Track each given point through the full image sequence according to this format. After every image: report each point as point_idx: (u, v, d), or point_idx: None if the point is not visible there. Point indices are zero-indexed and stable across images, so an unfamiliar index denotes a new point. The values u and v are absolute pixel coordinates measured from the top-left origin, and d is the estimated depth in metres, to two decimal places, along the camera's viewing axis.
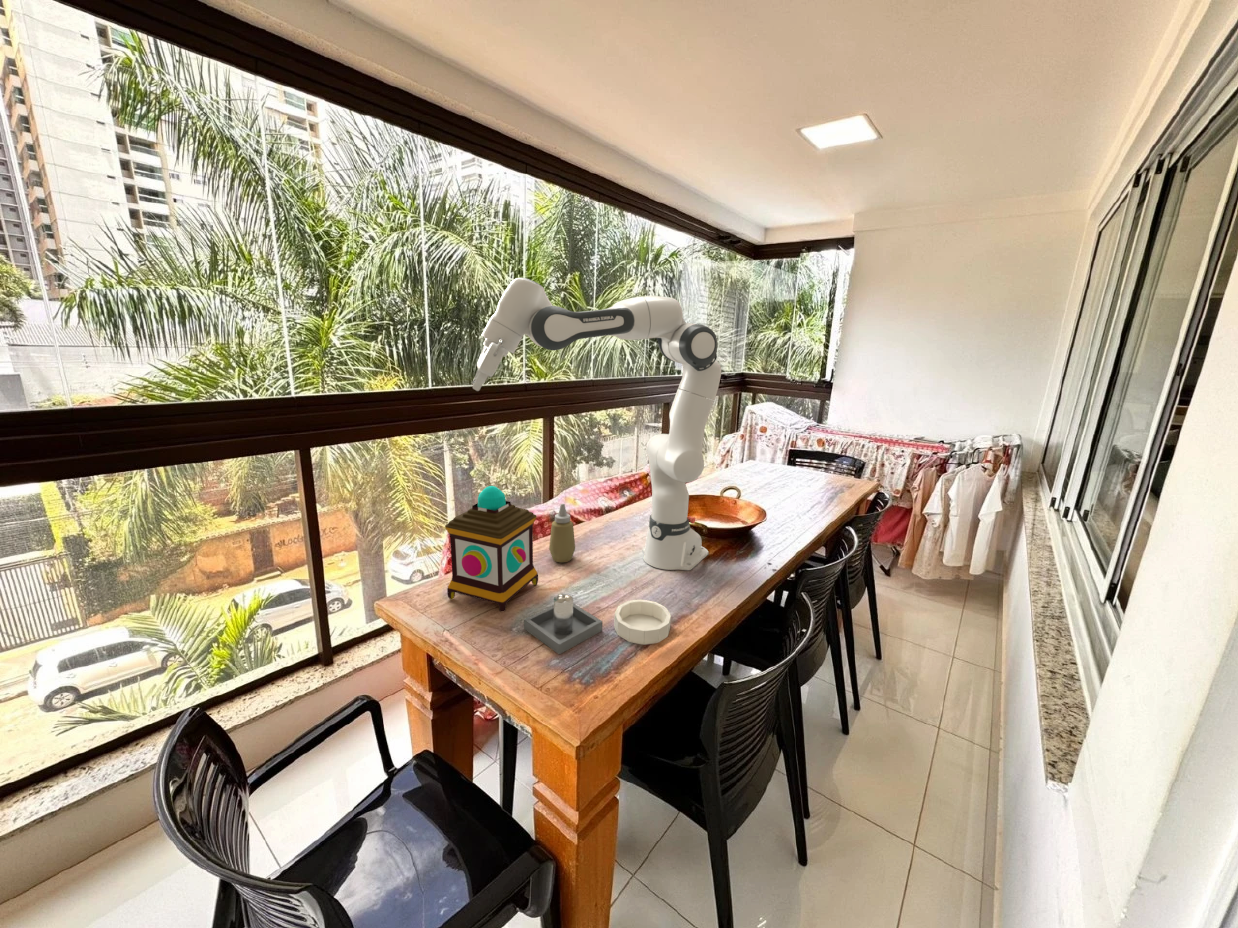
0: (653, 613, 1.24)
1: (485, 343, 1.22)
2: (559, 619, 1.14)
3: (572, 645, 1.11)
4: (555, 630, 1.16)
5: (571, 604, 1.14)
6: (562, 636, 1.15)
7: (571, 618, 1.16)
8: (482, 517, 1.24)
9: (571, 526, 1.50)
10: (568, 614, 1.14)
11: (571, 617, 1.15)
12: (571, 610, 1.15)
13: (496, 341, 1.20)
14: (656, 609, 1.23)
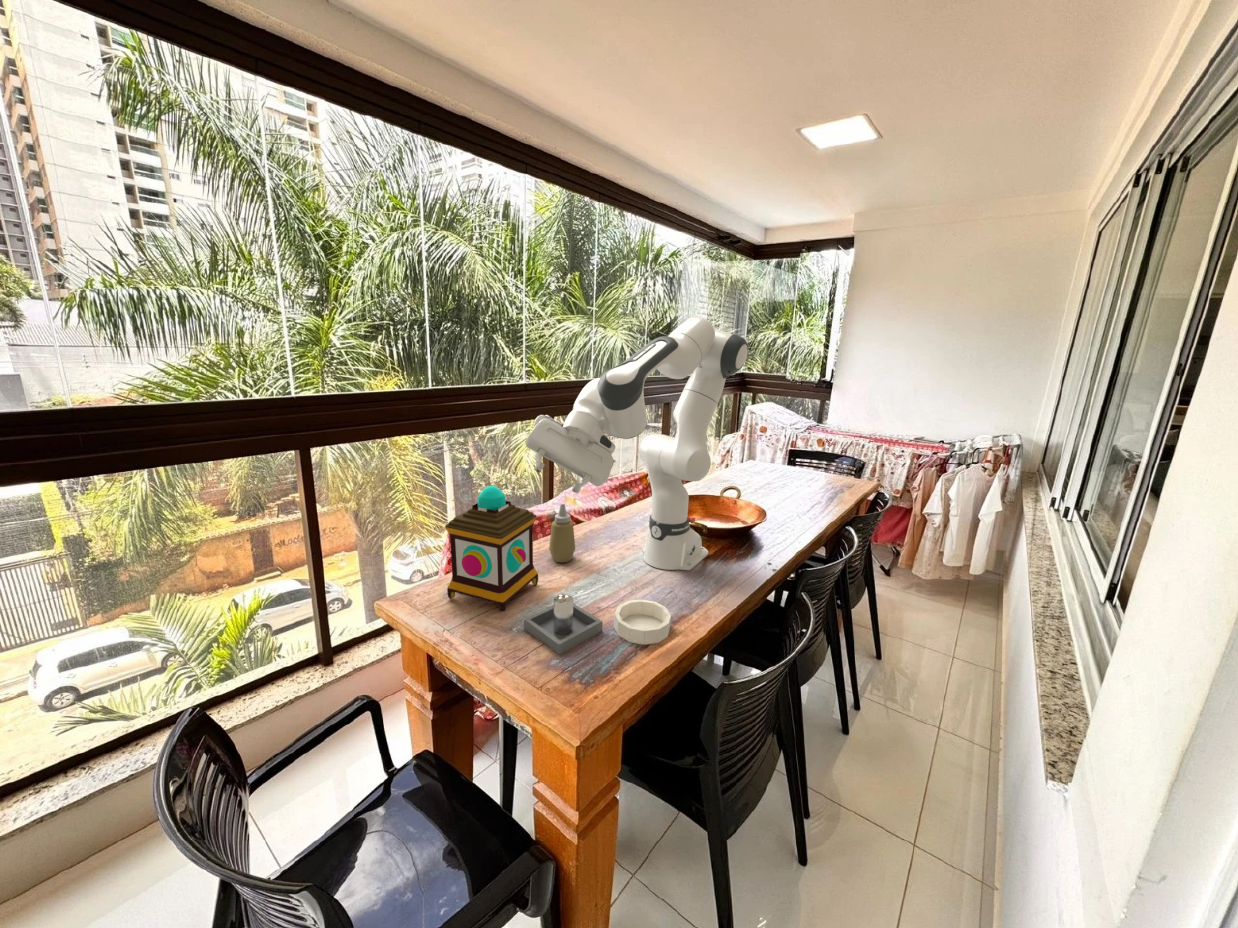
0: (653, 613, 1.24)
1: None
2: (559, 619, 1.14)
3: (572, 645, 1.11)
4: (555, 630, 1.16)
5: (571, 604, 1.14)
6: (562, 636, 1.15)
7: (571, 618, 1.16)
8: (482, 517, 1.24)
9: (571, 526, 1.50)
10: (568, 614, 1.14)
11: (571, 617, 1.15)
12: (571, 610, 1.15)
13: None
14: (656, 609, 1.23)
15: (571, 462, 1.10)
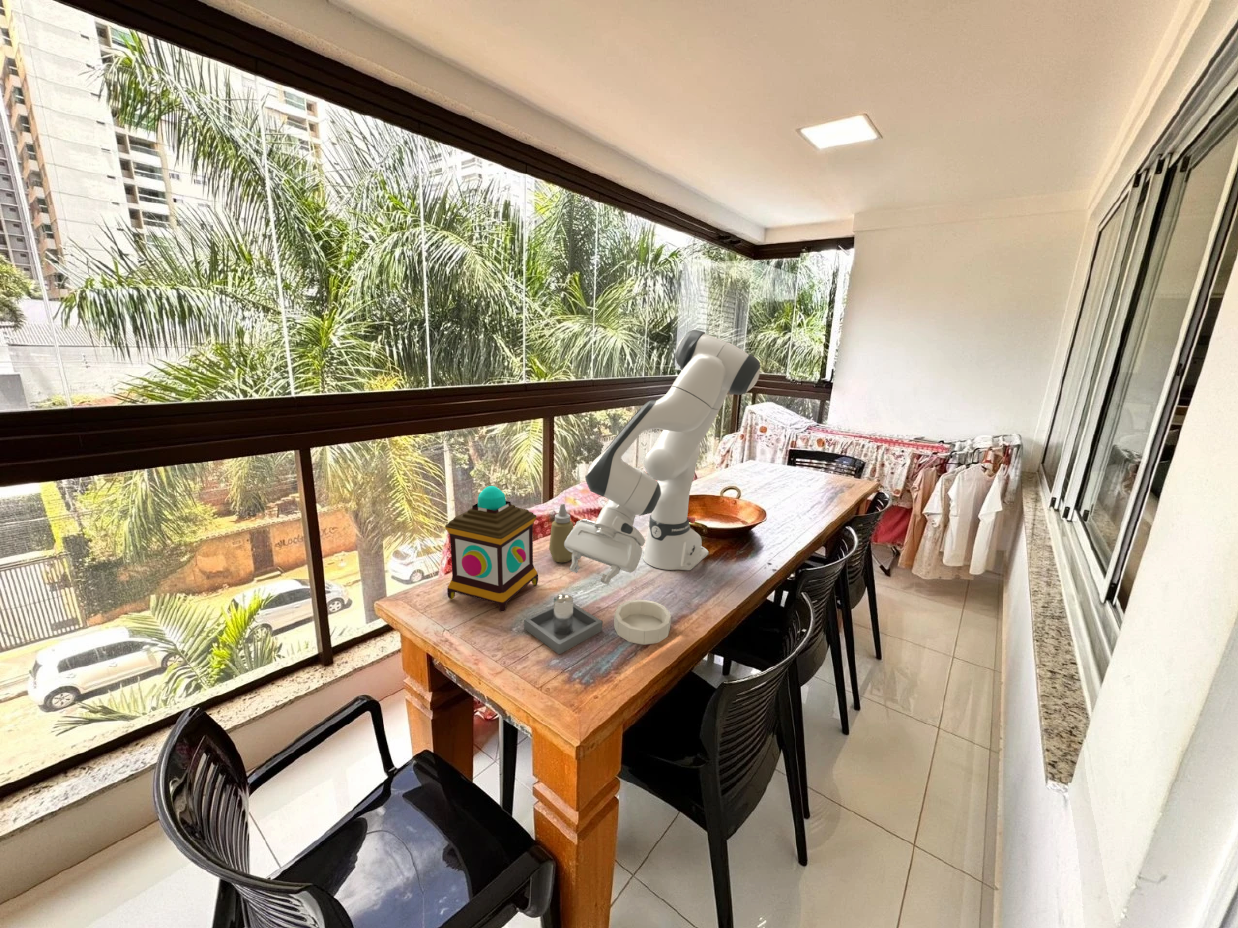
0: (653, 613, 1.24)
1: None
2: (559, 619, 1.14)
3: (572, 645, 1.11)
4: (555, 630, 1.16)
5: (571, 604, 1.14)
6: (562, 636, 1.15)
7: (571, 618, 1.16)
8: (482, 517, 1.24)
9: (571, 526, 1.50)
10: (568, 614, 1.14)
11: (571, 617, 1.15)
12: (571, 610, 1.15)
13: None
14: (656, 609, 1.23)
15: (597, 556, 1.20)
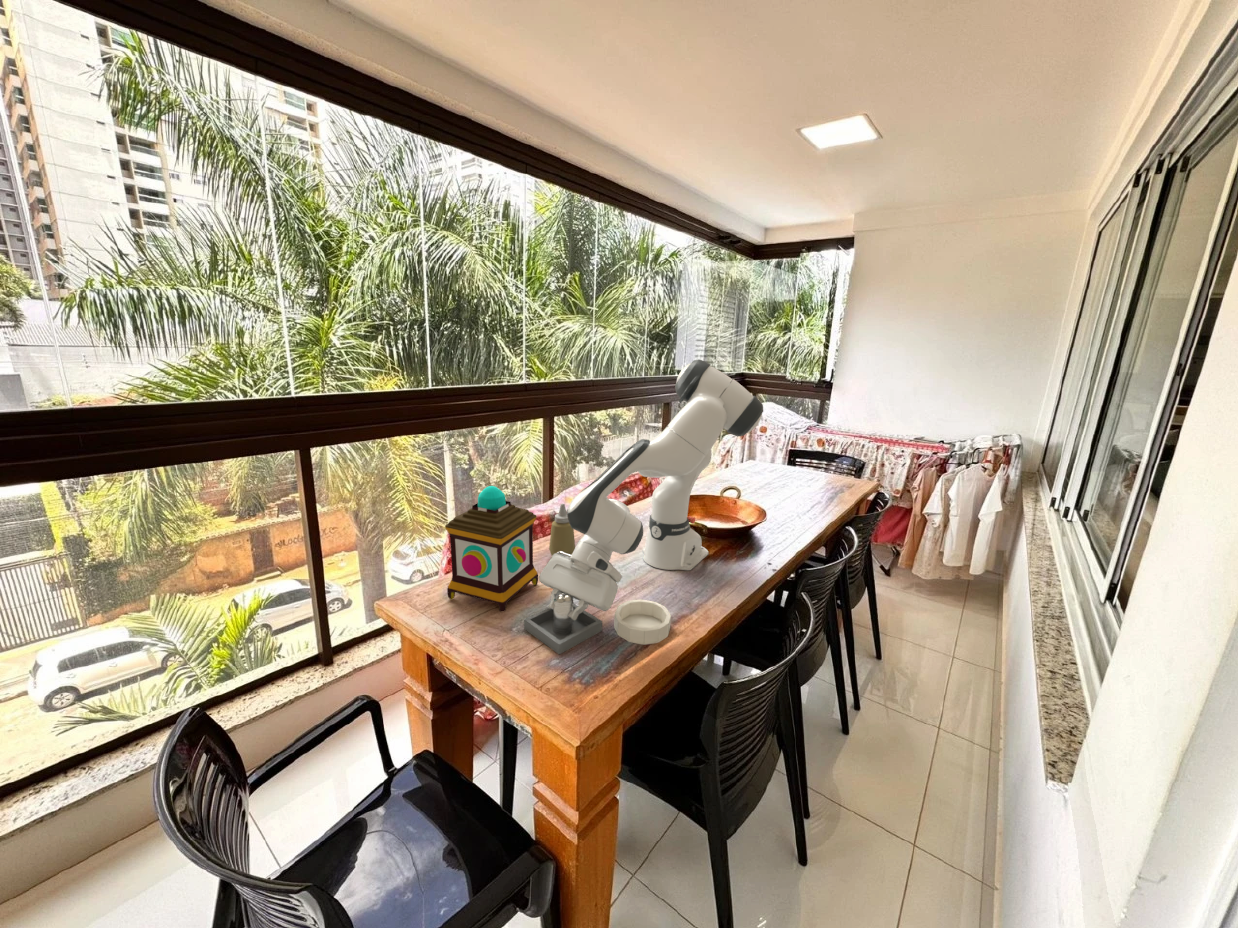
0: (653, 613, 1.24)
1: None
2: (559, 619, 1.14)
3: (572, 645, 1.11)
4: (555, 630, 1.16)
5: (571, 604, 1.14)
6: (562, 636, 1.15)
7: None
8: (482, 517, 1.24)
9: None
10: None
11: None
12: None
13: None
14: (656, 609, 1.23)
15: (571, 593, 1.16)
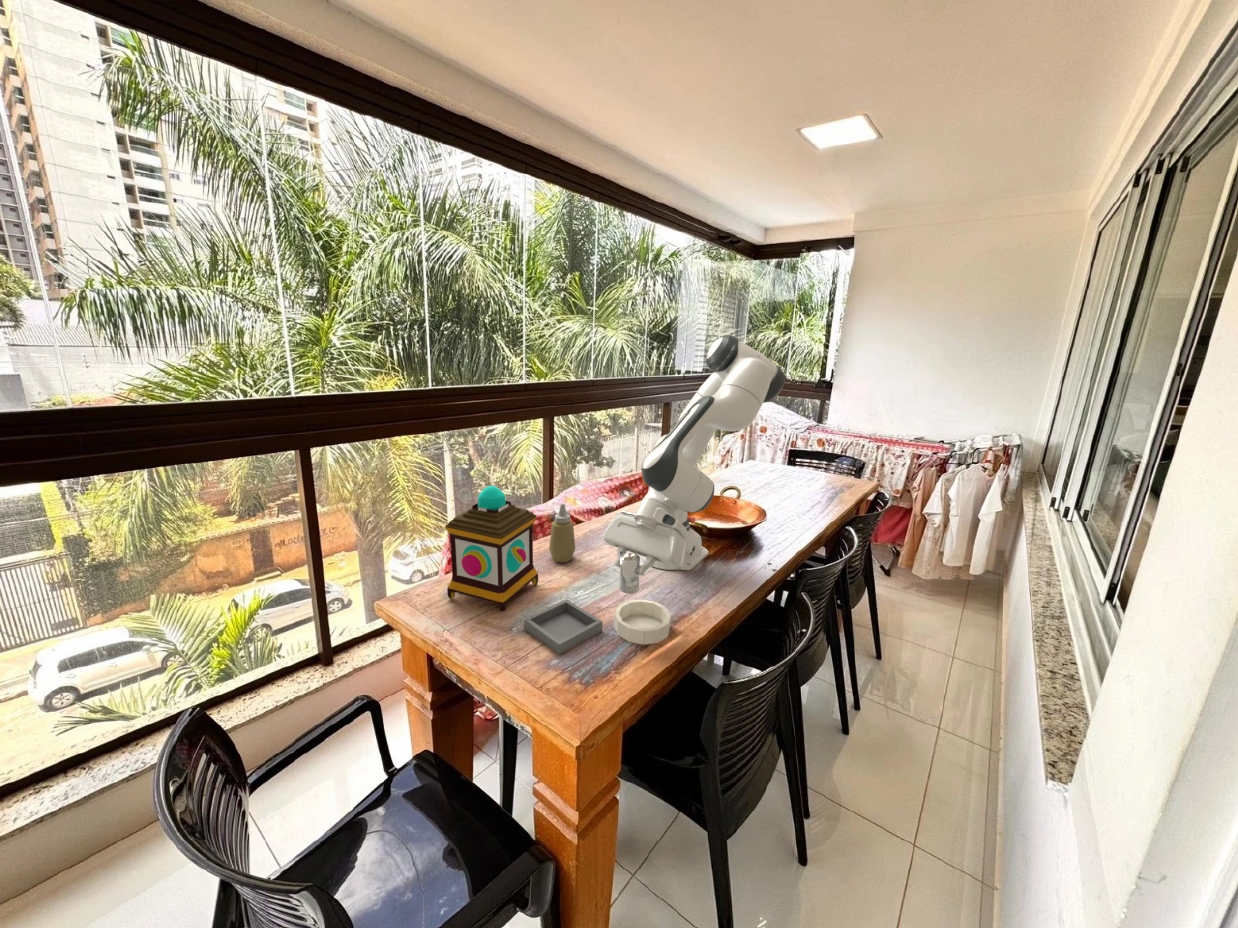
0: (653, 613, 1.24)
1: None
2: (626, 577, 1.14)
3: (572, 645, 1.11)
4: (622, 589, 1.15)
5: (638, 562, 1.14)
6: (562, 636, 1.15)
7: (638, 576, 1.15)
8: (482, 517, 1.24)
9: (571, 526, 1.50)
10: (635, 572, 1.14)
11: (638, 575, 1.15)
12: None
13: None
14: (656, 609, 1.23)
15: (638, 549, 1.15)
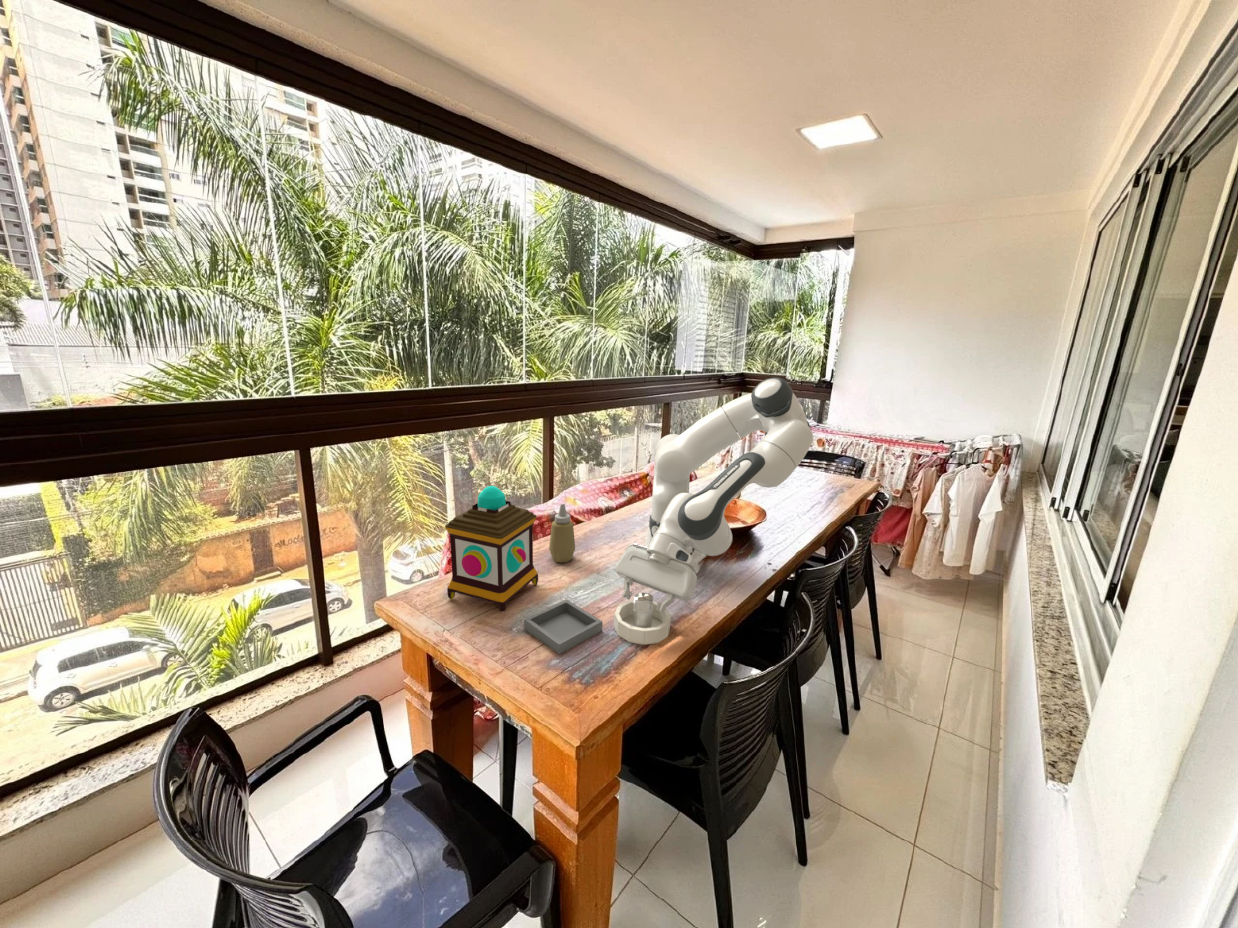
0: (653, 613, 1.24)
1: None
2: (640, 617, 1.16)
3: (572, 645, 1.11)
4: None
5: (652, 602, 1.17)
6: (562, 636, 1.15)
7: (651, 616, 1.18)
8: (482, 517, 1.24)
9: (571, 526, 1.50)
10: (649, 612, 1.16)
11: (651, 615, 1.18)
12: (651, 608, 1.17)
13: None
14: None
15: (651, 584, 1.17)
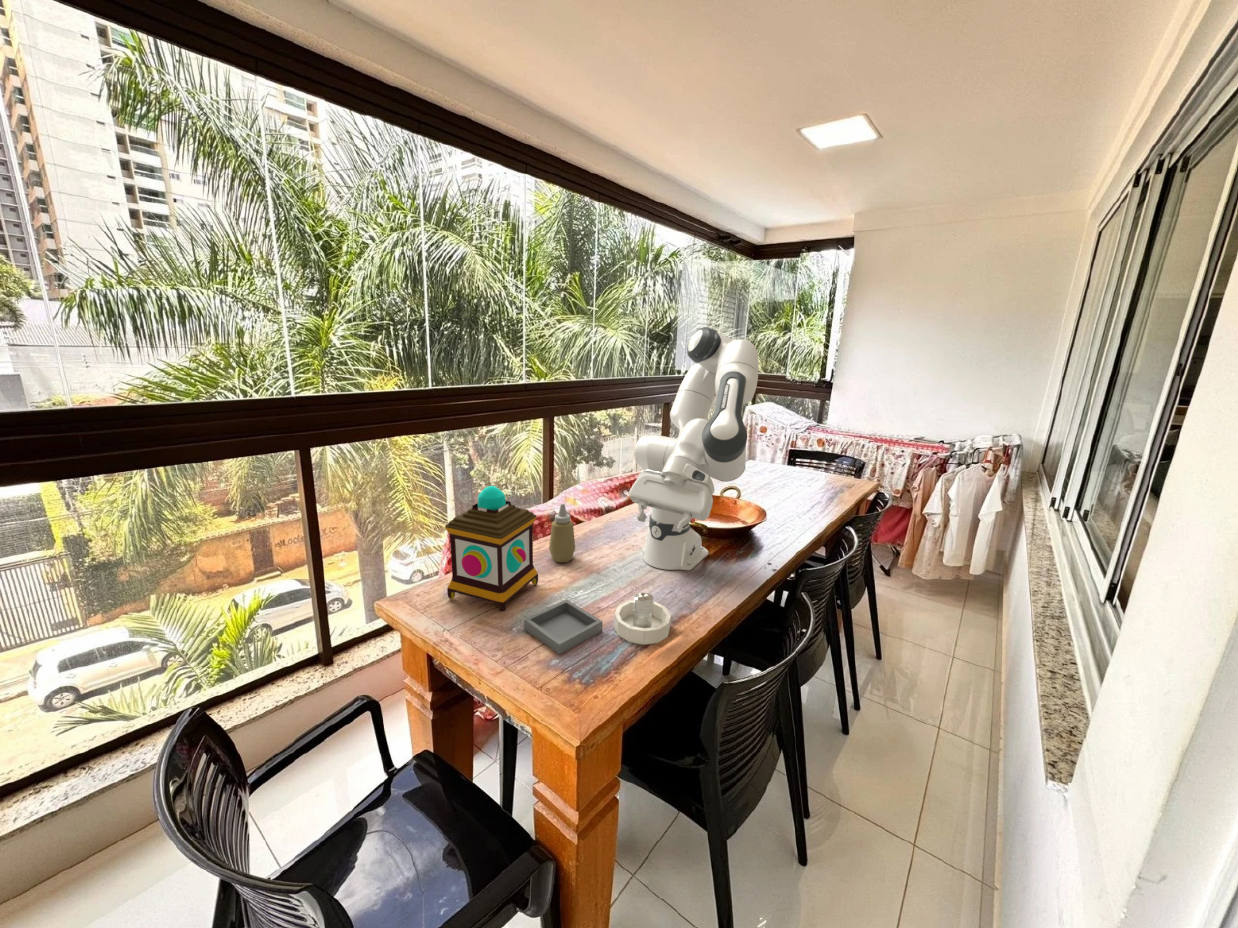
0: (653, 613, 1.24)
1: None
2: (640, 617, 1.16)
3: (572, 645, 1.11)
4: None
5: (652, 602, 1.17)
6: (562, 636, 1.15)
7: (651, 616, 1.18)
8: (482, 517, 1.24)
9: (571, 526, 1.50)
10: (649, 612, 1.16)
11: (651, 615, 1.18)
12: (651, 608, 1.17)
13: None
14: (656, 609, 1.23)
15: (667, 504, 1.16)
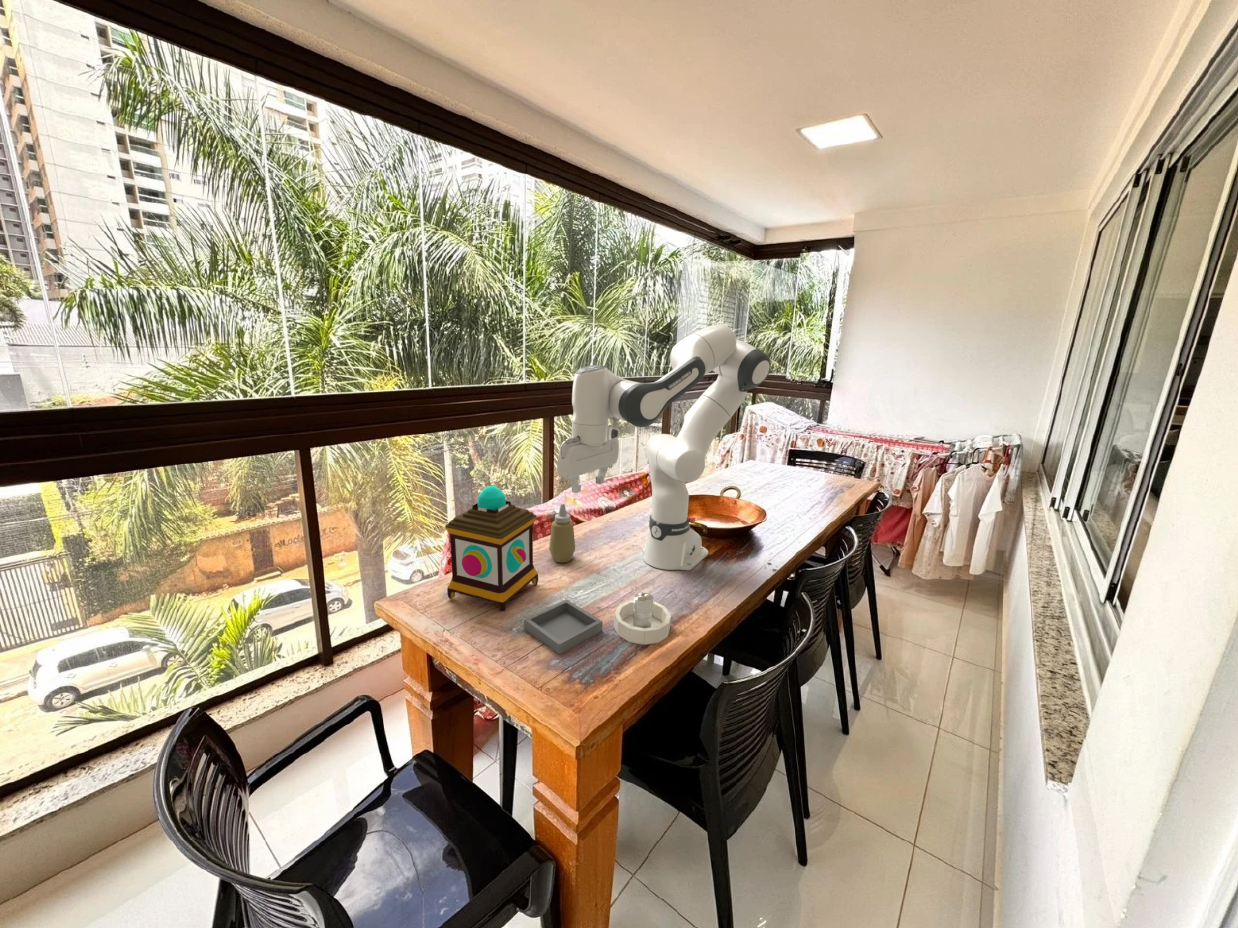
0: (653, 613, 1.24)
1: None
2: (640, 617, 1.16)
3: (572, 645, 1.11)
4: None
5: (652, 602, 1.17)
6: (562, 636, 1.15)
7: (651, 616, 1.18)
8: (482, 517, 1.24)
9: (571, 526, 1.50)
10: (649, 612, 1.16)
11: (651, 615, 1.18)
12: (651, 608, 1.17)
13: None
14: (656, 609, 1.23)
15: (596, 469, 1.23)
